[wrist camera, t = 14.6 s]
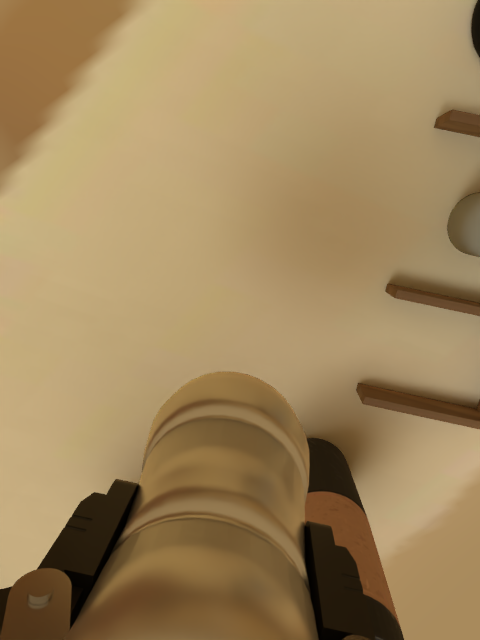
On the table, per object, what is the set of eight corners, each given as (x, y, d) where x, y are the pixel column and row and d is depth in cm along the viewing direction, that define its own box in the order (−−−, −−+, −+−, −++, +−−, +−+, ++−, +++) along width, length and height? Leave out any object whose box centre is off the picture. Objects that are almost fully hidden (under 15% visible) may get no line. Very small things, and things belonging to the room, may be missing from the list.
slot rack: (481, 417, 40) (502, 437, 36) (356, 389, 40) (364, 407, 36) (585, 148, 34) (623, 141, 30) (436, 118, 34) (456, 107, 30)
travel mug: (358, 493, 43) (430, 724, 24) (285, 509, 44) (297, 742, 25) (339, 426, 41) (400, 616, 22) (264, 445, 42) (258, 642, 23)
